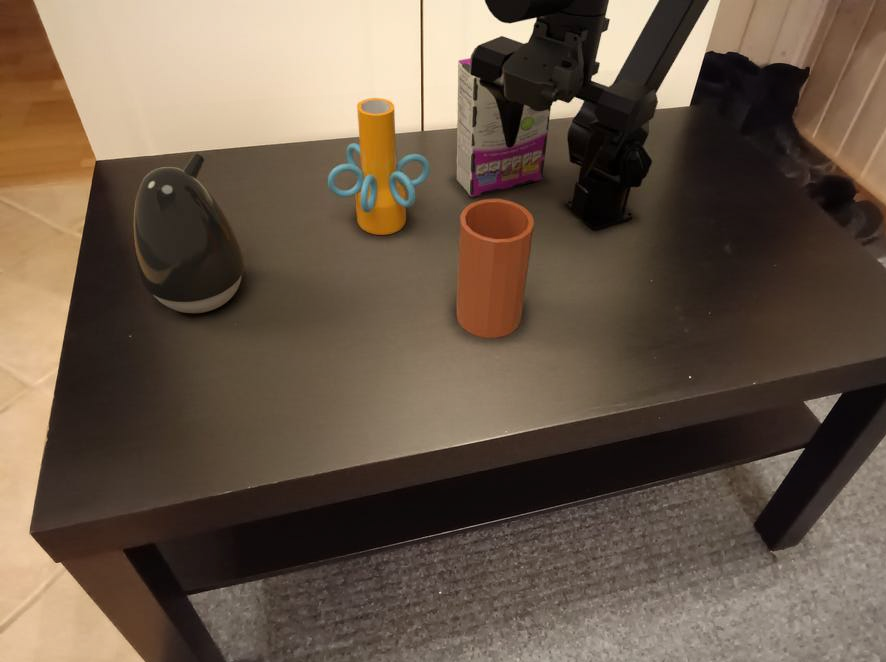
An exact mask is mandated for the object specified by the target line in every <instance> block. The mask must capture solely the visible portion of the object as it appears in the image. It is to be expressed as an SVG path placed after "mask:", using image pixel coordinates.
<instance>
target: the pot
mask: <svg viewBox="0 0 886 662" xmlns="http://www.w3.org/2000/svg"><path fill="white" fill-rule="evenodd" d="M534 227H535V221H534V218H533V215H532V214H531V212H529V210H528V209H527V208H525V207H524V206H522V205H521V204H518V203H517V202H514V201H511V200H506V199H501V198H487V199H481V200H478V201H474V202H471V203H470V204H469V205H468V206H466V207H464V209H463V210H462V211H461V214H460V216H459V232H458V234H459V235H458V255H457V256H458V257H457V258H458V260H457V279H456V284H457V285H456V301H455V302H456V305H455V308H456V321H457V322H458V324H459V326H460V327H461V328H462V329H463V330H464V331H466V332H467V333H469V334H471V335H473V336H476V337H478V338H484V339H497V338H498V339H499V338H502V337H505V336H508V335H510V334H512V333H513V332H515V330H516V329H518V327H519V325H520V324H521V319H522V315H523V310H524V309H523V308H524V301H525V296H526V287H527V281H528V280H527V277H528V273H529V265H530V264H529V263H530V257H531V250H532V242H533V234H534Z"/></svg>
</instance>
